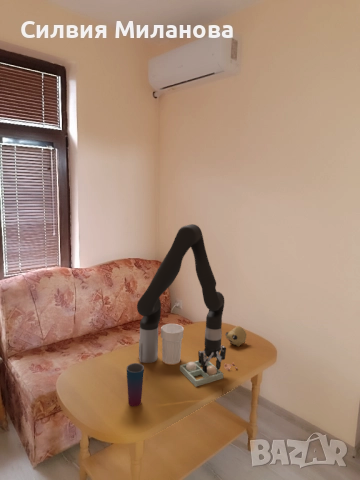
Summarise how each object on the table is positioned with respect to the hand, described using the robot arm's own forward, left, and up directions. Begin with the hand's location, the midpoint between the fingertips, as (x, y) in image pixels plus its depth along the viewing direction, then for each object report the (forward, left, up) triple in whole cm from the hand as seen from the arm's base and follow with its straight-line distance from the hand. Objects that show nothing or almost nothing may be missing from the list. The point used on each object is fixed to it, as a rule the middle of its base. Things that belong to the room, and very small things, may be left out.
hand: (211, 370), depth 148 cm
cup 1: (-36, -12, -4) cm, 38 cm away
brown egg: (0, 0, -3) cm, 3 cm away
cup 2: (-15, +17, -4) cm, 23 cm away
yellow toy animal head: (+24, +28, -4) cm, 37 cm away
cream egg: (-8, +5, -3) cm, 10 cm away
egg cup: (+12, +5, -3) cm, 13 cm away
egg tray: (-4, +2, -3) cm, 6 cm away
